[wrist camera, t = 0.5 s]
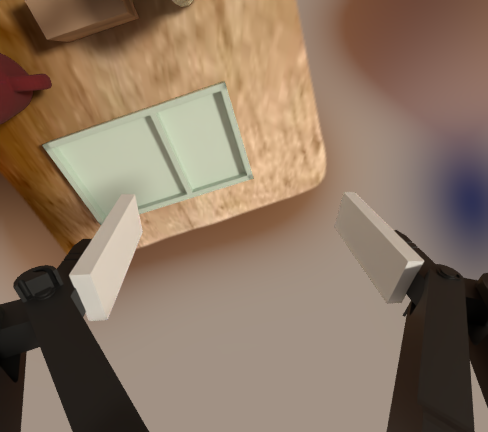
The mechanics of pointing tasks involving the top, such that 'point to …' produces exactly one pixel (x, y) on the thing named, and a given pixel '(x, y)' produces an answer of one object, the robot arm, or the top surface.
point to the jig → (156, 153)
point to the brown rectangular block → (79, 16)
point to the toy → (182, 2)
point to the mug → (17, 87)
